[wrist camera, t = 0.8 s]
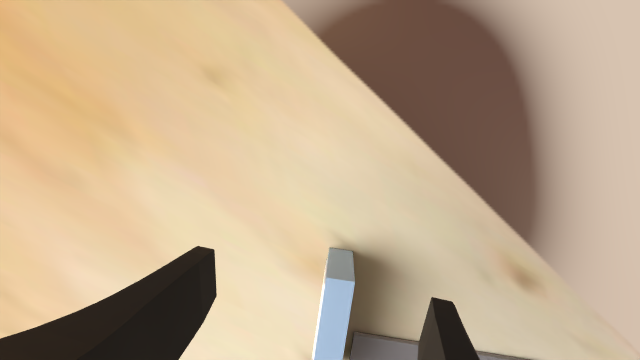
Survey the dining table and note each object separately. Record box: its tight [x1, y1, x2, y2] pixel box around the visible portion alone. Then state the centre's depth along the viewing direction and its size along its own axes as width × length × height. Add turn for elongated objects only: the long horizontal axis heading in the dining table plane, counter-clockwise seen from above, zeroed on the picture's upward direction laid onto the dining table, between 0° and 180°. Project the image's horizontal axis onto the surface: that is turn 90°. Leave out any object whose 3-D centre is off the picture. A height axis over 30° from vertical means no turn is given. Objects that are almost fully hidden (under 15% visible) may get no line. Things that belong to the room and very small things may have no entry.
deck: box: [312, 248, 355, 360], centre depth 28 cm, size 9×2×6 cm, turn 172°
